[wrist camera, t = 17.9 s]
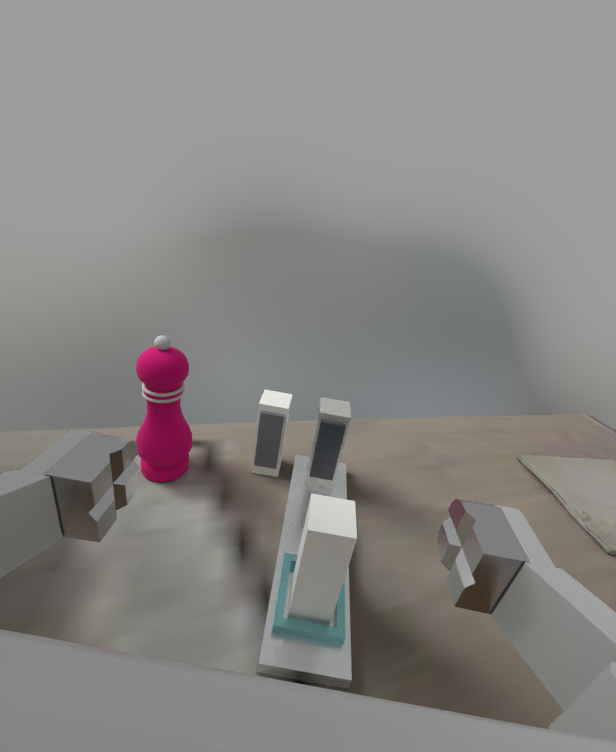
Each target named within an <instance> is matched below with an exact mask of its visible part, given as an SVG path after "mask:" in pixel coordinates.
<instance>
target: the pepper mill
mask: <svg viewBox="0 0 616 752" xmlns="http://www.w3.org/2000/svg"><path fill="white" fill-rule="evenodd" d="M154 343H155V346H154V347H150V348H149V349H147V350H145V351H144V352H143V353H142V354H141V355H140V356H139V358H138V360H137V364H136V372H137V375H138V377H139V379H140V380H141V381H142V382H143V384H142V390H143V391H142V395H143V397H144V398H145V399H146V400H147V414H146V418H145V420H144V422H143V424H142V426H141V428H140V430H139V431H138V435H137V438H136V443H137V449H138V455H139V457H141V471H142V474H143V475H144V476H145V477H146V478H147V479H149V480H151V481H155V482H168V481H172V480H175V479H177V478H179V477H181V476H182V475H183V474H184V473H185V472H186V471H187V469H188V465H189V455H188V453H189V451H190V450H191V448H192V443H193V442H192V433H191V431H190V428H189V425H188V424H187V422H186V420H185V419H184V417H183V414H182V411H181V408H180V399H181V397H183V395H184V392H185V391H184V386H185V385H184V383H183V381H184V380H185V379H186V377H187V375H188V371H189V365H188V361H187V358H186V357H185V355H184V354H183V353H182V352H181V351H180V350H178V349H176V348H174V347H170V340H169V338H168V337H166V336H159V337H157V338H156V339H155V342H154Z"/></svg>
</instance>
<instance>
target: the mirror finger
mask: <svg viewBox="0 0 616 752" xmlns="http://www.w3.org/2000/svg"><path fill="white" fill-rule="evenodd" d="M291 399H292V394H286V393H281V392H275V391H269V390H264V393H263V395H262V398H261V400H260V402H259V409H258V418H257V426H256V435H255V444H254V452H253V461H252V470H251V473H256V474H262V475H267V476H273V477H278V474H279V470H280V466H281V461H282V456H283V449H284V443H285V437H286V431H287V424H288V418H289V411H290V406H291Z"/></svg>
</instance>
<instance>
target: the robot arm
mask: <svg viewBox="0 0 616 752" xmlns="http://www.w3.org/2000/svg"><path fill="white" fill-rule="evenodd" d="M137 455H138V449H137V443H136V442H134V441H133V440H128V439H123V438H118V437H113V436H109V435H104V434H99V433H92V432H87V431H82V430H77V429H75V430H71V431H69V432H67V433H66V434H65V435H64V436H62V437H61V438H60V439H59V440H57V441H56V442H55V443H54V444H52V445H51V446H50V447H49V448H47V449H46V450H45V451H44V452H43V453H41V454H40V455H39V456H38V457H36V458H35V459H34V460H33V461H31V462H30V463H29V464H28V465H26V466H25V467H24V468H23V469H21V470H20V471H17V470H11V471H8V472H5V473H2V474H0V578H1V577H3V576H4V575H6V574H7V573H9V572H11V571H12V570H14V569H15V568H17V567H19V566H20V565H22V564H23V563H25V562H27V561H28V560H30V559H31V558H33V557H35V556H36V555H38V554H39V553H41V552H42V551H44V550H46V549H47V548H49V547H50V546H52V545H54V544H55V543H57V542H58V541H60V540H62V539H63V537H69V538H75V539H82V540H89V541H95V542H100V541H101V540H102V538H103V537H104V536H105V534H106V533H107V532H108V530H109V529H110V528H111V526H112V525H113V523H114V522H115V521H116V519H117V518H116V510H118V509H120V508H122V507H124V506H126V505H127V504H128V503H129V501H130V500H131V498H132V497H133V495H134V493H135V490H136V488H137V485H138V481H139V467H138V466H137V465H136V463H135V462H134V461H133V459H134V458H135V457H136V456H137ZM448 511H449V513H450V516H451V518H449V519H448V520H446V521H444V522H443V523H442V525H441V527H440V530H439V533H438V543H437V544H438V553H439V556H440V560H441V562H442V563H443V564H444V566H445V567H446V568H447V569H448V570H449V571H450V572H449V574H448V576H447V578H446V581H447V584H448V587H449V591H450V594H451V597H452V601H453V604H454V607H459V608H463V609H468V610H473V611H478V612H482V613H487V614H491V618H492V619H493V620H494V621H495V623H496V624H497V625H498V627H499V628H500V629H501V630H502V632H503V633H504V634H505V636H506V637H507V638H508V639H509V641H510V642H511V643H512V645H513V646H514V647H515V648H516V650H517V651H518V652H519V654H520V655H521V656H522V657H523V659H524V660H525V661H526V663H527V664H528V665H529V666H530V668H531V669H532V670H533V672H534V673H535V674H536V676H537V677H538V678H539V679H540V681H541V682H542V683H543V685H544V686H545V687H546V688H547V690H548V691H549V692H550V694H551V695H552V696H553V697H554V699H555V700H556V701H557V703H558V704H559V705H560V706H561V708H562V709H563V710H564V711H563V712H562V713H561V714H560V715H559V716H558V717H557V718H556V719H555V720H554V721H553V722H552V723H551V724H550V726H549V728H548V729H544V728H538V727H533V726H527V725H522V724H516V723H511V722H505V721H500V720H495V719H489V718H484V717H478V716H473V715H467V714H462V713H456V712H451V711H445V710H440V709H434V708H429V707H424V706H418V705H413V704H407V703H402V702H396V701H391V700H385V699H380V698H374V697H369V696H364V695H358V694H353V693H347V692H342V691H336V690H331V689H325V688H320V687H315V686H309V685H304V684H298V683H293V682H287V681H282V680H276V679H271V678H265V677H260V676H254V675H249V674H243V673H238V672H232V671H227V670H221V669H216V668H210V667H205V666H199V665H194V664H188V663H183V662H177V661H172V660H166V659H161V658H155V657H150V656H144V655H139V654H133V653H128V652H122V651H117V650H111V649H106V648H100V647H95V646H90V645H84V644H79V643H73V642H68V641H62V640H57V639H51V638H46V637H40V636H35V635H29V634H24V633H18V632H13V631H7V630H2V629H0V752H616V613H615V612H614V611H613V610H612V609H611V608H609V607H608V606H607V605H606V604H604V603H603V602H602V601H601V600H600V599H598V598H597V597H596V596H595V595H593V594H592V593H591V592H590V591H589V590H587V589H586V588H585V587H584V586H582V585H581V584H580V583H579V582H577V581H576V580H575V579H574V578H573V577H571V576H570V575H569V574H568V573H566V572H565V571H564V570H563V569H559V568H555V566H554V564H553V563H552V561H551V560H550V558H549V556H548V555H547V553H546V551H545V550H544V548H543V547H542V545H541V543H540V542H539V540H538V538H537V537H536V535H535V533H534V532H533V530H532V529H531V527H530V525H529V524H528V522H527V520H526V519H525V517H524V515H523V514H522V513H521V512H520V511H519V510H518V509H516V508H510V507H504V506H497V505H496V506H494V505H489V504H483V503H478V502H472V501H466V500H460V499H455V500H454V501H453V502H452V503H451V505H450V507H449V509H448Z"/></svg>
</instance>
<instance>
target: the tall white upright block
mask: <svg viewBox="0 0 616 752" xmlns="http://www.w3.org/2000/svg"><path fill="white" fill-rule="evenodd" d="M356 541H357V529H356V511H355V501H351V500H346V499H340V498H335V497H329V496H324V495H318V494H313V493H311V496H310V501H309V506H308V510H307V515H306V519H305V524H304V528H303V533H302V538H301V542H300V547H299V551H298V556H297V561H296V565H295V570H294V574H293V579H292V587H291V595H290V603H289V611H288V618H289V619H295V620H300V621H306V622H311V623H317V624H322V625H328V626H329V625H330V622H331V619H332V616H333V613H334V610H335V606H336V603H337V600H338V597H339V594H340V591H341V588H342V584H343V581H344V578H345V575H346V572H347V569H348V566H349V562H350V559H351V556H352V553H353V550H354V547H355V544H356Z"/></svg>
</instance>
